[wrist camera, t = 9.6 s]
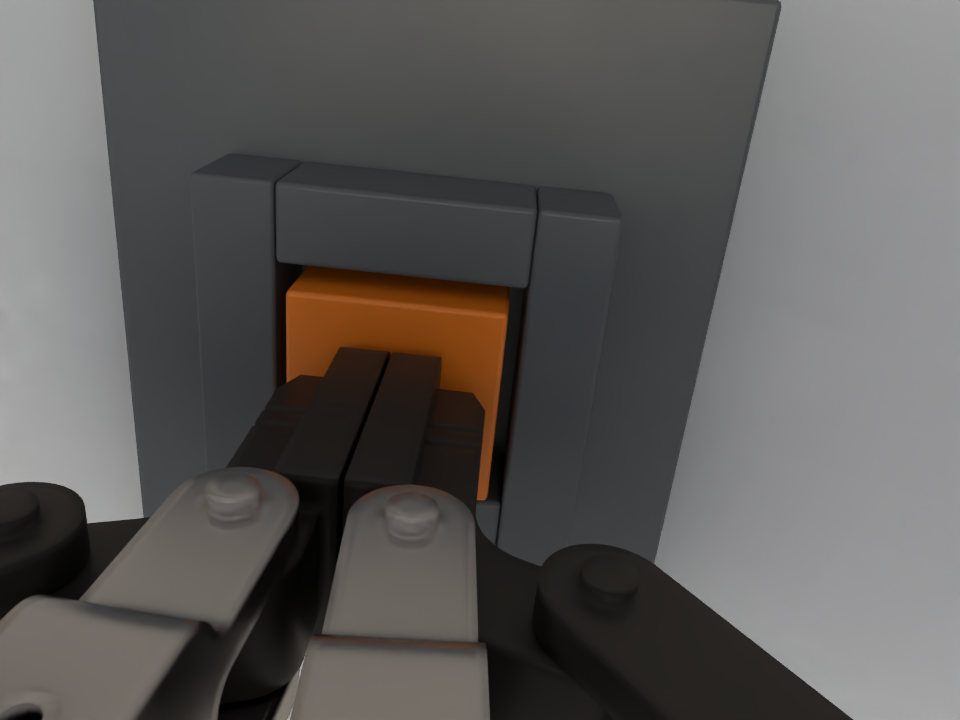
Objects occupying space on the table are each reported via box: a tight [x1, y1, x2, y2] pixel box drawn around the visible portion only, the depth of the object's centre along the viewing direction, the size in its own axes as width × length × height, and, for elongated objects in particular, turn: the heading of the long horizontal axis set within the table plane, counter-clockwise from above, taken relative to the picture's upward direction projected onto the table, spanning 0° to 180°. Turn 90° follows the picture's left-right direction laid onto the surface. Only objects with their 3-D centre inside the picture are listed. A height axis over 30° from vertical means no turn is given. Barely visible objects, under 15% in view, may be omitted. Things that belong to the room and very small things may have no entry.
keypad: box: [93, 0, 781, 566], centre depth 14 cm, size 12×10×3 cm
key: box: [286, 266, 510, 500], centre depth 13 cm, size 3×3×2 cm
